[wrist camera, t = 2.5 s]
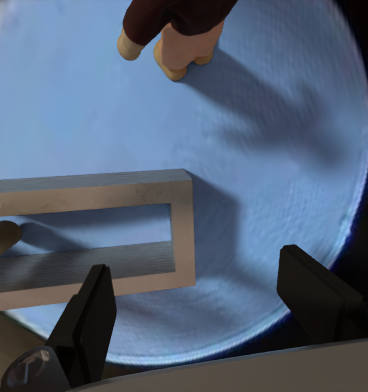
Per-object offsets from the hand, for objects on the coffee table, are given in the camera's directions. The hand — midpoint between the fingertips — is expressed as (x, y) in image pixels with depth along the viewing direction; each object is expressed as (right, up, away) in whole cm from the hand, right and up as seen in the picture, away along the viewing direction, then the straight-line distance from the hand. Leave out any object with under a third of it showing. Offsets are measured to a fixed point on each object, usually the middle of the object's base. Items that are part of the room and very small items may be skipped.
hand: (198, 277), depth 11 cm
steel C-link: (-9, +2, +6) cm, 11 cm away
